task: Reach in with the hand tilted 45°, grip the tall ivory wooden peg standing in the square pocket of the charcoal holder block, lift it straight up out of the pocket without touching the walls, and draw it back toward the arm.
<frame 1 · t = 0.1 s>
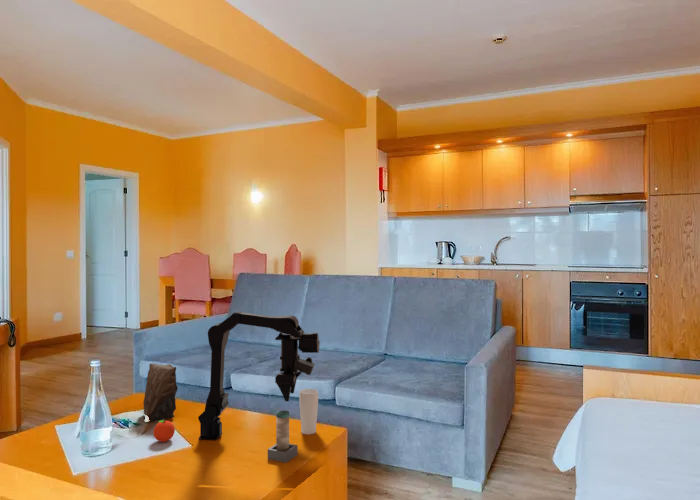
hand: (289, 397, 177), 15 cm above the table, tool pointing down, fingers open, 9 cm apart
drinking glass: (308, 433, 182), on the table
ivory peg: (282, 456, 161), resting on charcoal holder block
charcoal holder block: (282, 458, 161), on the table
tomato: (162, 441, 175), on the table
brown tree stump: (155, 417, 199), on the table
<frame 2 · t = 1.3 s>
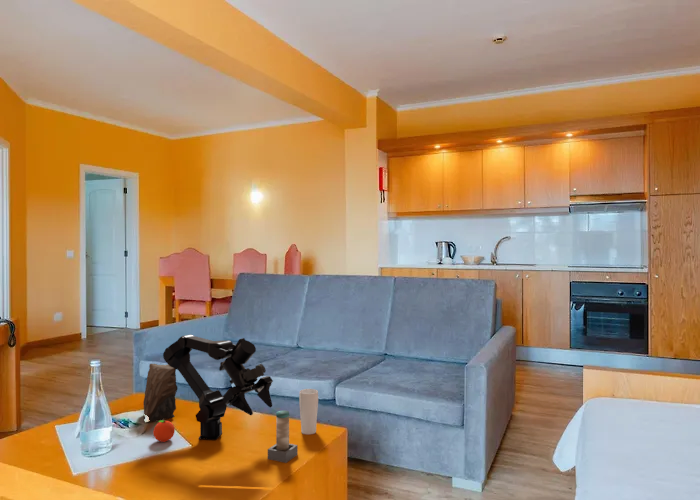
hand: (261, 410, 165), 14 cm above the table, tool tilted 45°, fingers open, 9 cm apart
nothing on the table moved.
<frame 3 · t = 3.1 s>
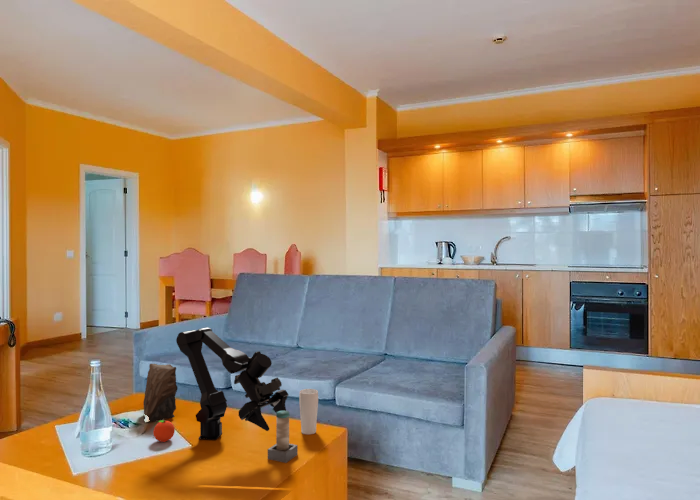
hand: (278, 425, 162), 10 cm above the table, tool tilted 45°, fingers open, 9 cm apart
nothing on the table moved.
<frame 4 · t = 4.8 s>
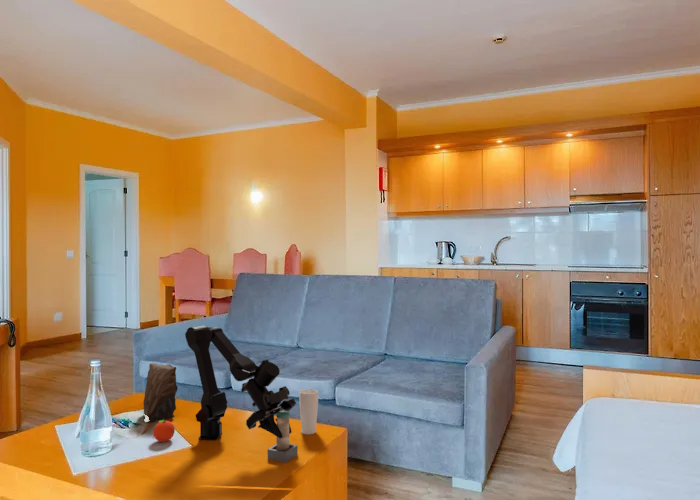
hand: (286, 435, 160), 8 cm above the table, tool tilted 45°, fingers closed on ivory peg, 4 cm apart
ivory peg: (282, 456, 161), point 1 cm above the table, touching charcoal holder block, gripper
everything else where it was.
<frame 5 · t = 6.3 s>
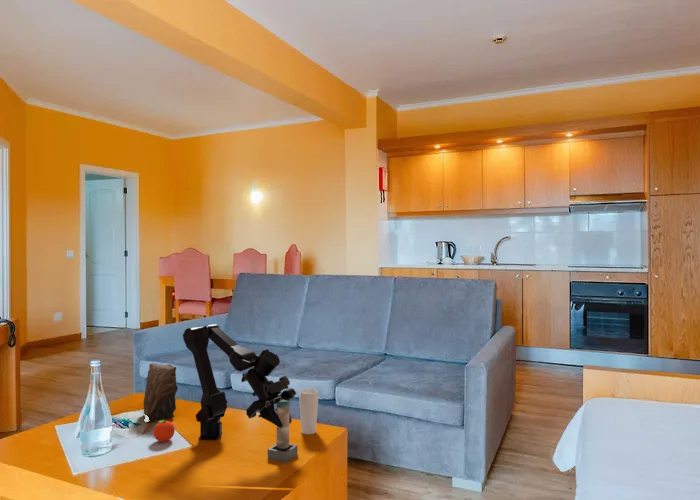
hand: (286, 424, 160), 11 cm above the table, tool tilted 45°, fingers closed on ivory peg, 4 cm apart
ivory peg: (282, 446, 161), point 4 cm above the table, touching gripper
everything else where it was.
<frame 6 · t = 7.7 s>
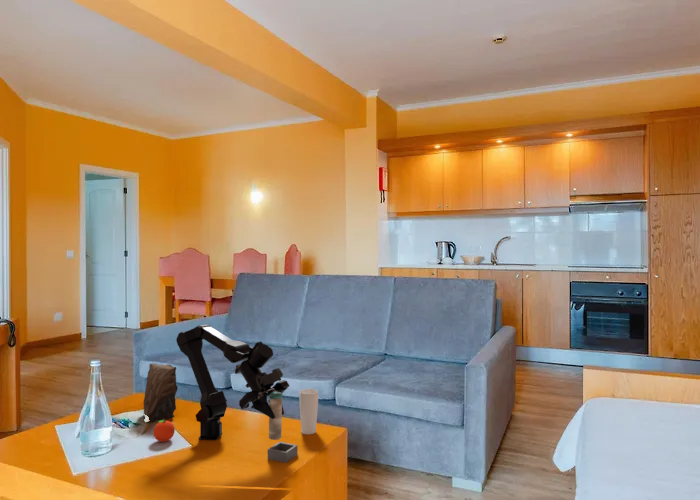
hand: (278, 416, 162), 13 cm above the table, tool tilted 45°, fingers closed on ivory peg, 4 cm apart
ivory peg: (275, 437, 162), point 6 cm above the table, touching gripper
everything else where it was.
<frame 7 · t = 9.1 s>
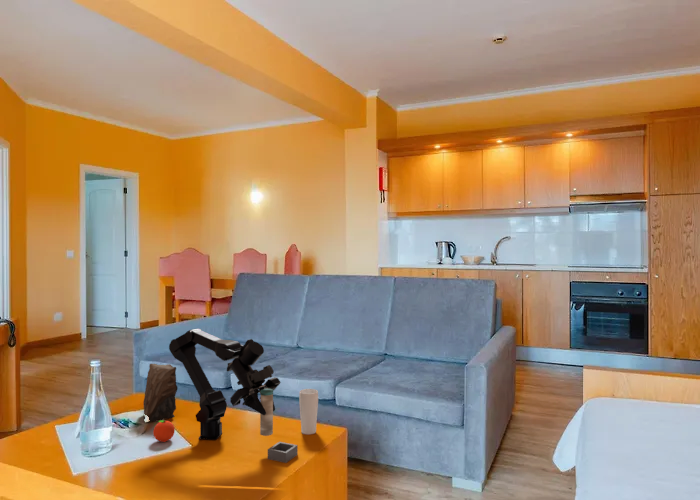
hand: (269, 412, 164), 14 cm above the table, tool tilted 45°, fingers closed on ivory peg, 4 cm apart
ivory peg: (266, 433, 164), point 6 cm above the table, touching gripper
everything else where it was.
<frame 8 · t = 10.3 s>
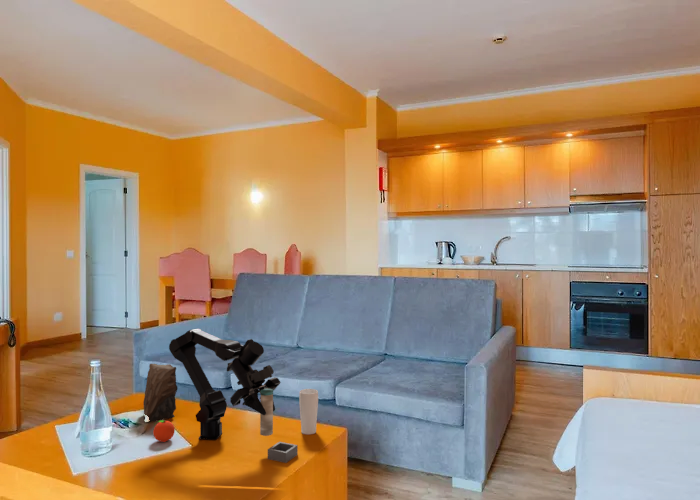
hand: (269, 412, 164), 14 cm above the table, tool tilted 45°, fingers closed on ivory peg, 4 cm apart
ivory peg: (266, 433, 164), point 6 cm above the table, touching gripper
everything else where it was.
at the end: the gripper is holding ivory peg; ivory peg point 6.5 cm above the table; ivory peg touching gripper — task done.
